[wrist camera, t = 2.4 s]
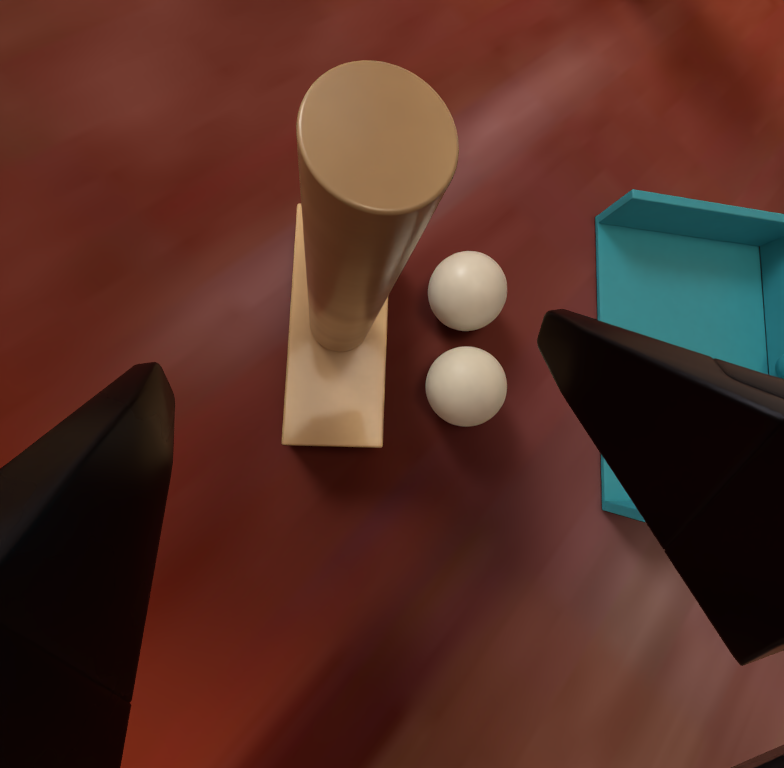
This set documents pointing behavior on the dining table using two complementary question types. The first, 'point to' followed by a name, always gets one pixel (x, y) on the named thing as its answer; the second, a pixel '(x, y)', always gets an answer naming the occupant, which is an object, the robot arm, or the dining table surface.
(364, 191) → the brush
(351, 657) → the dining table surface
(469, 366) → the beige rounded piece
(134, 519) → the robot arm
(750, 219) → the dustpan
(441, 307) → the cream oval piece
